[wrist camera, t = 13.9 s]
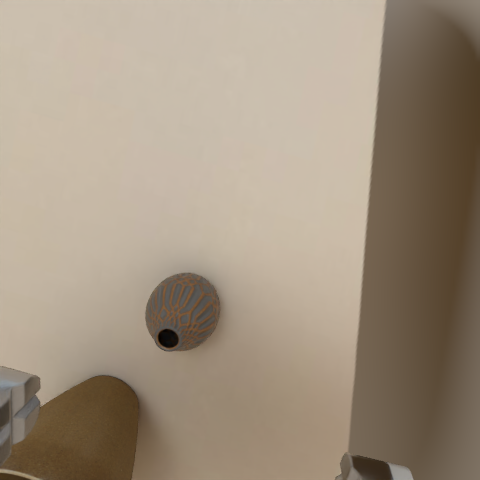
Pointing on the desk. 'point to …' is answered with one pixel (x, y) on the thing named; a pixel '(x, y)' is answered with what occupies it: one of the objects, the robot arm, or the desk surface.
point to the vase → (182, 312)
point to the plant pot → (80, 436)
